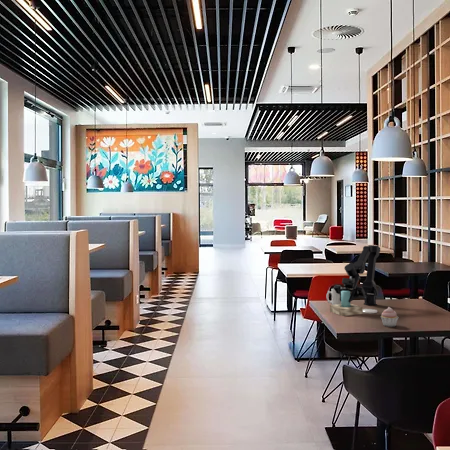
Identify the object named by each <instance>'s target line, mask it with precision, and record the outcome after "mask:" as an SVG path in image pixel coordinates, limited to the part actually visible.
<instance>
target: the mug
mask: <svg viewBox="0 0 450 450" xmlns="http://www.w3.org/2000/svg"><path fill="white" fill-rule="evenodd" d="M329 294H330V295H331V300H330V299H329ZM326 302H327V303H328V304H330V305H337V304H341V301H340V294H337V293H336V291H335V290H334V287H333V288H331V291H330V290H327V293H326Z"/></svg>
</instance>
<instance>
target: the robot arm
mask: <svg viewBox="0 0 450 450" xmlns="http://www.w3.org/2000/svg"><path fill="white" fill-rule="evenodd" d="M380 252H381V247H380V246H379V245H375V244H373V245H372V244H369V245H364V246H363V247H362V251H361V252H360V255H359V257H358V259H357V261H355V262H349V263H348V264H346V265H345V266H344V271H345V272H346V274H347V276H348V277H349V278H348V277H347V278H346V277H343V278H342V280H341V284H342V285H343V286H344V287H343V286H342V285H340V284H335V285H334V286H333V288H334V290H335V291H336V293H337V294H340V301H341V291H350V298H349V302H350V303H351V302H352V301H354V300H356V299H357V298H359V297H364V303H363V304H364V305H366V306H378V303H377V297H378V296H379V291H378V289H377V284H376V282H375V274H376V273H375V272H376V264H377V258H378V257H379V256H380V254H381V253H380ZM366 262H367V269H366V266H365V265H366ZM365 270H366V277H365V280H363V282H362V286H358V283H359V281H361V274H364V273H365Z"/></svg>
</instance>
